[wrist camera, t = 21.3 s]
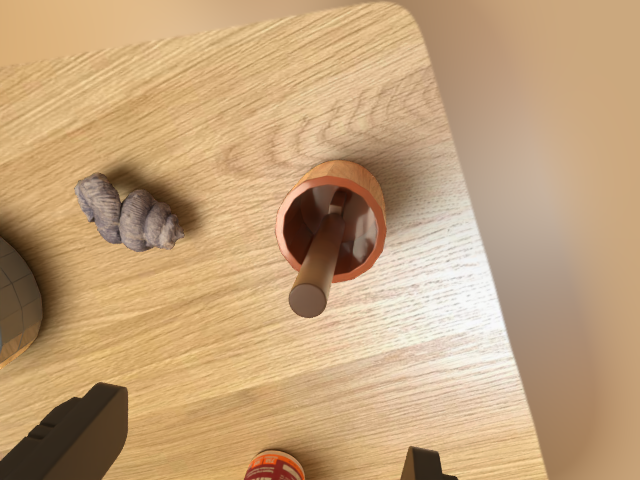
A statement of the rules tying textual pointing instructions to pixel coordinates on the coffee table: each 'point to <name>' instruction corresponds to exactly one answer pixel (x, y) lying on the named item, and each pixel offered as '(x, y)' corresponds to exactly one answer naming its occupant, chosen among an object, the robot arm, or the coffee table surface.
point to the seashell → (128, 215)
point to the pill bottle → (274, 467)
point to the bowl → (17, 305)
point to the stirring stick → (319, 262)
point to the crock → (312, 205)
